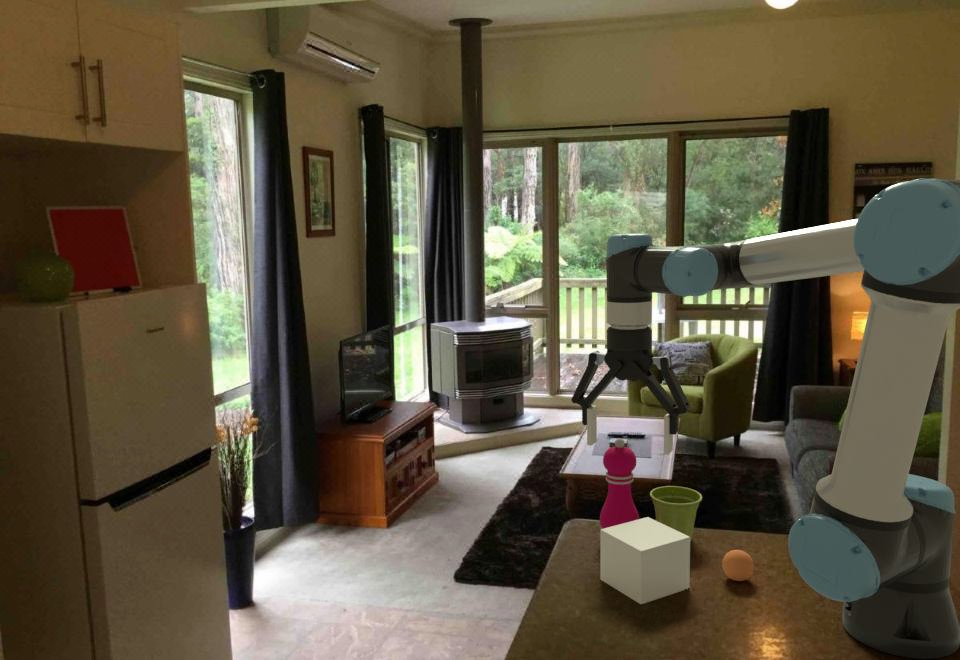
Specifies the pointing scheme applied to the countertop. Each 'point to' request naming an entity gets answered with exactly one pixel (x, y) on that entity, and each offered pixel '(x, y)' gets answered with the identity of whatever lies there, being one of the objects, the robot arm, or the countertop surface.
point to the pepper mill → (619, 486)
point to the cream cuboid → (645, 559)
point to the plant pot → (676, 507)
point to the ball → (738, 565)
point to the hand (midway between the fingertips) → (629, 448)
